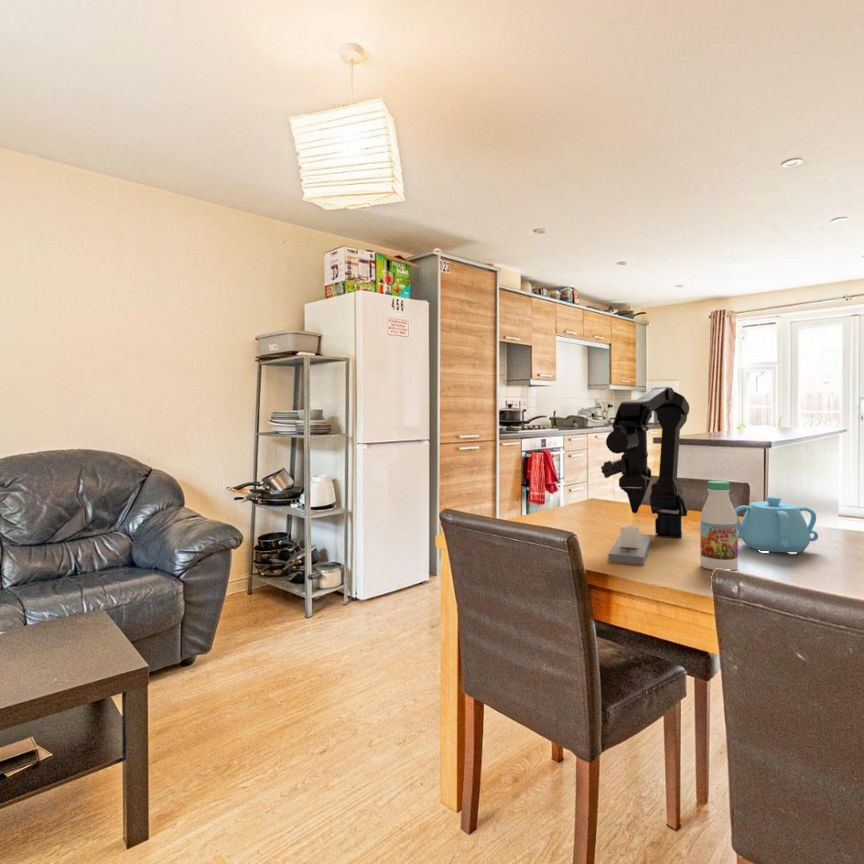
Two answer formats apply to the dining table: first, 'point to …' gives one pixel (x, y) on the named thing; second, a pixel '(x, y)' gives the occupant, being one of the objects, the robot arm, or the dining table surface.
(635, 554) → the console
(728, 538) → the milk bottle
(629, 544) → the fader cap
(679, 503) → the robot arm
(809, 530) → the decorative pot
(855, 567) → the dining table surface
